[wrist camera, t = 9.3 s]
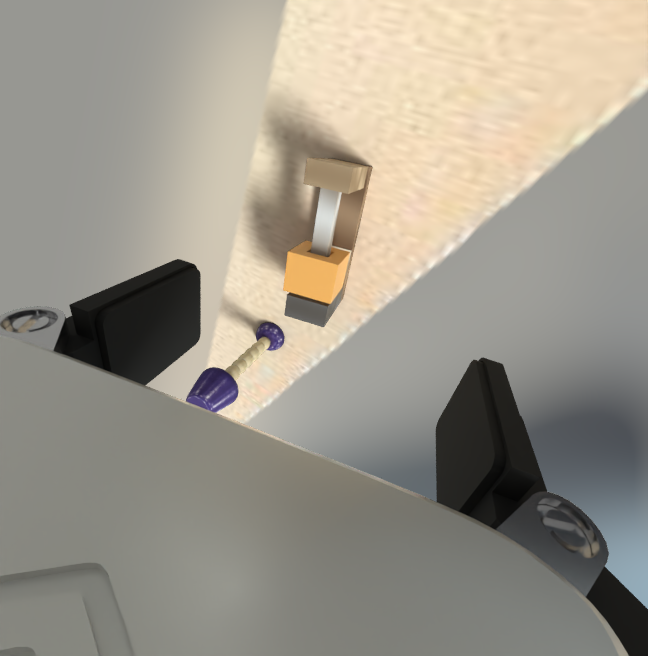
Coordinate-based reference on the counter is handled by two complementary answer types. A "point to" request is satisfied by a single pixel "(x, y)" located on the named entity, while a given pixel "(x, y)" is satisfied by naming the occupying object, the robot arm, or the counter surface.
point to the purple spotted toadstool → (232, 372)
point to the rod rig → (332, 225)
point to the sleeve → (315, 272)
